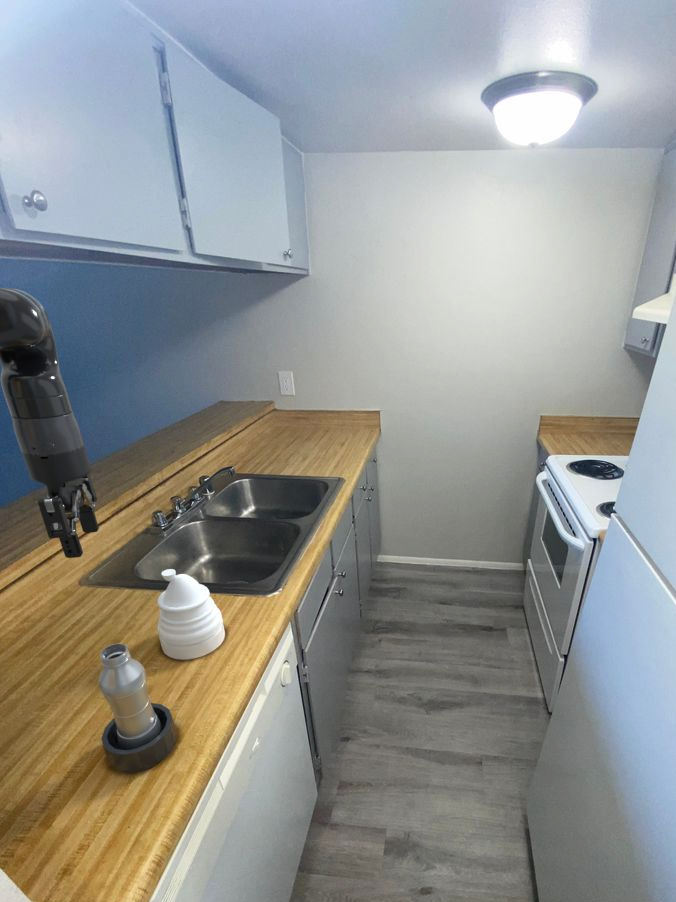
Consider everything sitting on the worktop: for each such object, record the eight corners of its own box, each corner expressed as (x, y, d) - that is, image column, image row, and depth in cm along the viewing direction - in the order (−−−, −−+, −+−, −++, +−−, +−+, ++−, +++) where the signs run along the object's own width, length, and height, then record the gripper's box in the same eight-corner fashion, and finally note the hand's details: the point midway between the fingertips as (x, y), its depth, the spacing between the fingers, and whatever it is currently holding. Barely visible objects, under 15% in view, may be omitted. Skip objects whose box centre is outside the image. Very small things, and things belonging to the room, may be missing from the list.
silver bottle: (125, 767, 75) (91, 673, 66) (118, 737, 80) (86, 646, 71) (168, 747, 79) (142, 656, 70) (159, 720, 84) (133, 631, 74)
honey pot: (167, 667, 96) (148, 594, 87) (157, 632, 105) (139, 563, 97) (232, 646, 102) (219, 576, 94) (216, 615, 112) (204, 548, 103)
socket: (101, 779, 74) (93, 760, 72) (117, 727, 83) (111, 709, 81) (171, 765, 77) (166, 746, 74) (180, 716, 85) (176, 698, 83)
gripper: (41, 432, 73) (71, 526, 80) (-2, 461, 61) (38, 568, 68) (96, 431, 75) (120, 522, 82) (65, 459, 63) (97, 563, 70)
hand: (83, 543), depth 75 cm, fingers open, 8 cm apart
